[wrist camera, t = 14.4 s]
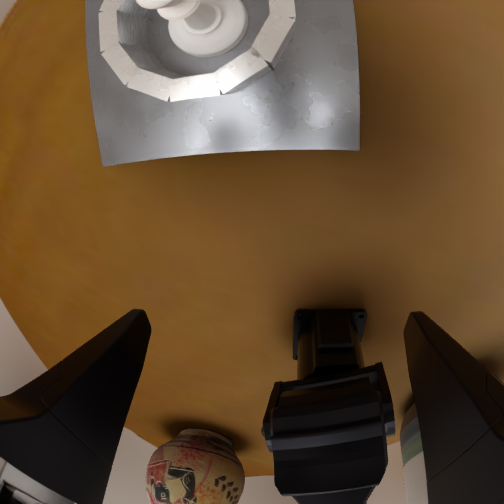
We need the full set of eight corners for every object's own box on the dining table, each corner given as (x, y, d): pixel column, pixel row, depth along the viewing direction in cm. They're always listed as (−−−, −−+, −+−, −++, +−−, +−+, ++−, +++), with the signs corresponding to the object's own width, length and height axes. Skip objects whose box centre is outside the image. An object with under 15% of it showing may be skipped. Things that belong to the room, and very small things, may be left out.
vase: (496, 338, 26) (555, 507, 5) (497, 390, 32) (530, 512, 11) (379, 397, 32) (393, 573, 12) (409, 433, 38) (421, 557, 18)
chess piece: (171, -5, 13) (81, -54, 5) (248, -13, 13) (210, -92, 4) (170, 61, 16) (71, 51, 7) (248, 56, 15) (205, 22, 7)
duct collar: (356, 147, 18) (376, 166, 14) (109, 163, 21) (72, 185, 16) (335, -80, 9) (345, -113, 5) (93, -38, 12) (56, -52, 7)
